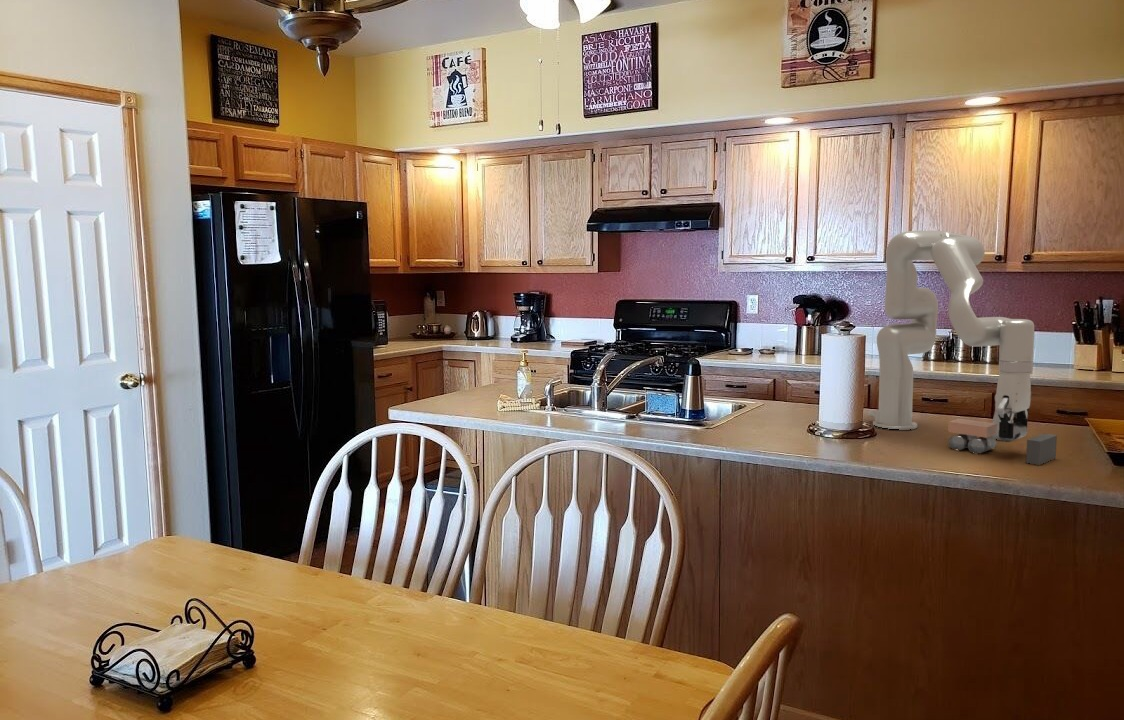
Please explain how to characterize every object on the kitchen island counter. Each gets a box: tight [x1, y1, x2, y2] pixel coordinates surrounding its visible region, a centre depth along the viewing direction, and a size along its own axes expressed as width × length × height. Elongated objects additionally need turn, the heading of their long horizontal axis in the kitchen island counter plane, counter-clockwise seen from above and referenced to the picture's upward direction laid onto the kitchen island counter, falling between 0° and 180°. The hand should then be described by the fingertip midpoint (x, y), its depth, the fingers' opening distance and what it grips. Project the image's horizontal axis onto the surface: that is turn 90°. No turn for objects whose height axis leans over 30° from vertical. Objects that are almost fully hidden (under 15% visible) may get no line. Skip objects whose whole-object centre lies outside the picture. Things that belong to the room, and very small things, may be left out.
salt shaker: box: [991, 394, 1011, 441], centre depth 220 cm, size 6×6×13 cm
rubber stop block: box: [1025, 433, 1058, 466], centre depth 196 cm, size 3×10×6 cm, turn 128°
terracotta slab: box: [947, 418, 997, 438], centre depth 209 cm, size 10×6×3 cm, turn 38°
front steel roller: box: [967, 436, 997, 454], centre depth 207 cm, size 4×8×4 cm, turn 128°
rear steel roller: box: [948, 433, 977, 451], centre depth 211 cm, size 4×8×4 cm, turn 128°
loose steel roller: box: [998, 422, 1028, 443], centre depth 201 cm, size 4×8×4 cm, turn 128°
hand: (1013, 435), depth 201 cm, fingers closed on loose steel roller, 7 cm apart
